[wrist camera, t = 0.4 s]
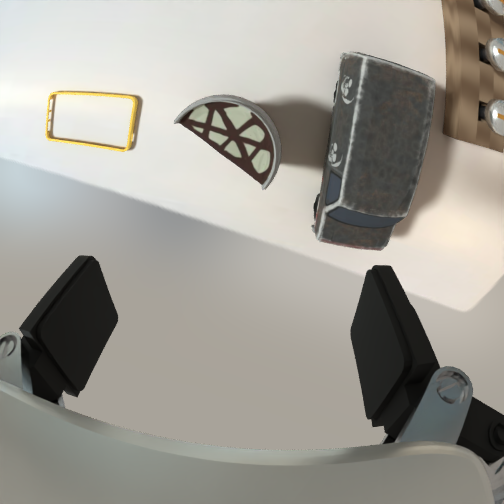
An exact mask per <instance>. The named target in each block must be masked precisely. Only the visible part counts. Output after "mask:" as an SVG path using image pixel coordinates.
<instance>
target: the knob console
mask: <svg viewBox="0 0 504 504" xmlns="http://www.w3.org/2000/svg"><path fill="white" fill-rule="evenodd" d="M441 1H442V9H443V17H444V28H445V42H446V101H445V116H444V128H443V134H445V135H447V136H450V137H452V138H455V139H458V140H462V141H465V142H469V143H473V144H476V145H480V146H483V147H486V148H490V149H493V150H496V151H499V152H502V153H503V149H504V136H502V135H500V134H497V133H494V132H493V131H492V130H491V129H490V128H489V127H488V125H487V122H486V120H485V119H481V118H480V117H479V116H478V111H479V105H483V106H486V105H487V103H488V102H489V101H490V100H491V99H499V100H504V72H500V71H498V70H496V69H495V68H494V67H493V66H492V65H491V63H490V62H489V61H482V60H481V59H480V58H479V49H480V48H485V46H486V42H487V40H488V39H490V38H504V18H503V15H500V16H496V15H494V14H492V13H491V12H490V11H488V10H487V8H485V9H478V8H476V7H475V6H474V1H473V0H441Z"/></svg>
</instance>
